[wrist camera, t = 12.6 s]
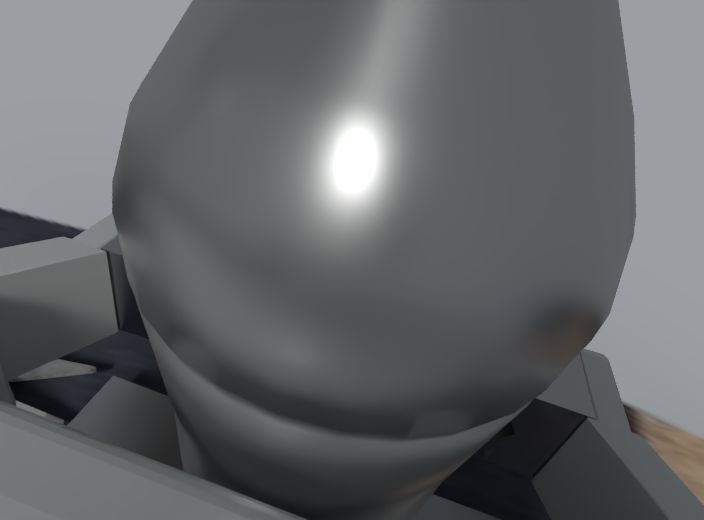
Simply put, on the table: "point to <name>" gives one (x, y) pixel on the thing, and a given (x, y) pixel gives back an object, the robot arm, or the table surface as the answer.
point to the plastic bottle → (372, 232)
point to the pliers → (51, 371)
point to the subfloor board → (162, 438)
